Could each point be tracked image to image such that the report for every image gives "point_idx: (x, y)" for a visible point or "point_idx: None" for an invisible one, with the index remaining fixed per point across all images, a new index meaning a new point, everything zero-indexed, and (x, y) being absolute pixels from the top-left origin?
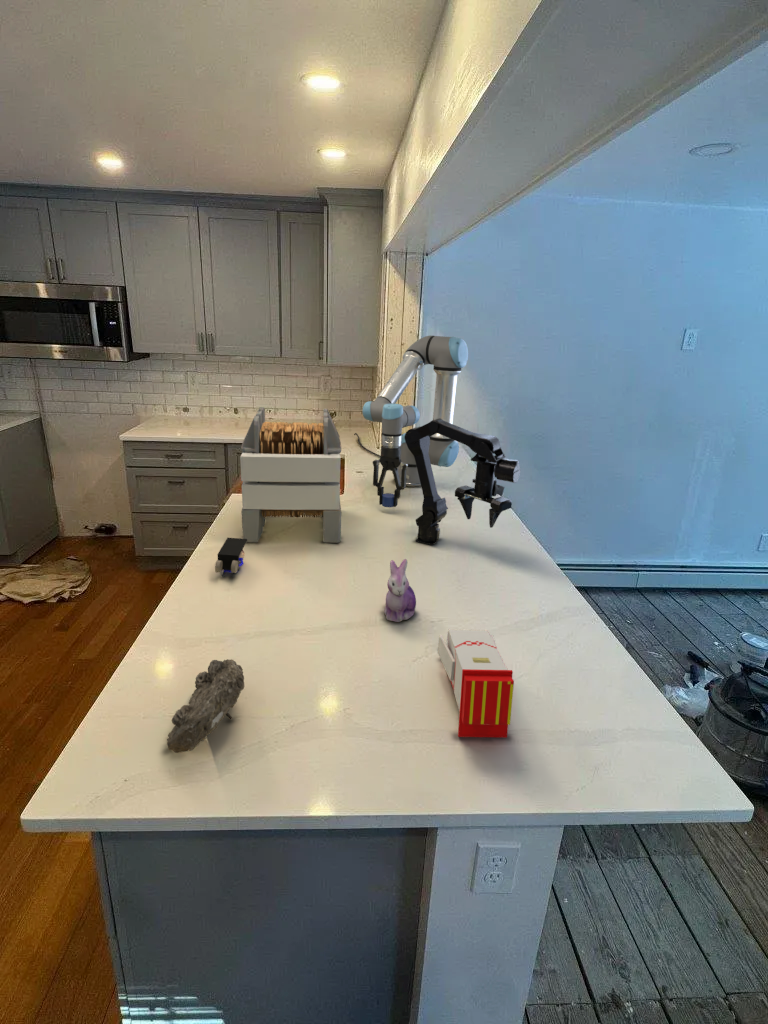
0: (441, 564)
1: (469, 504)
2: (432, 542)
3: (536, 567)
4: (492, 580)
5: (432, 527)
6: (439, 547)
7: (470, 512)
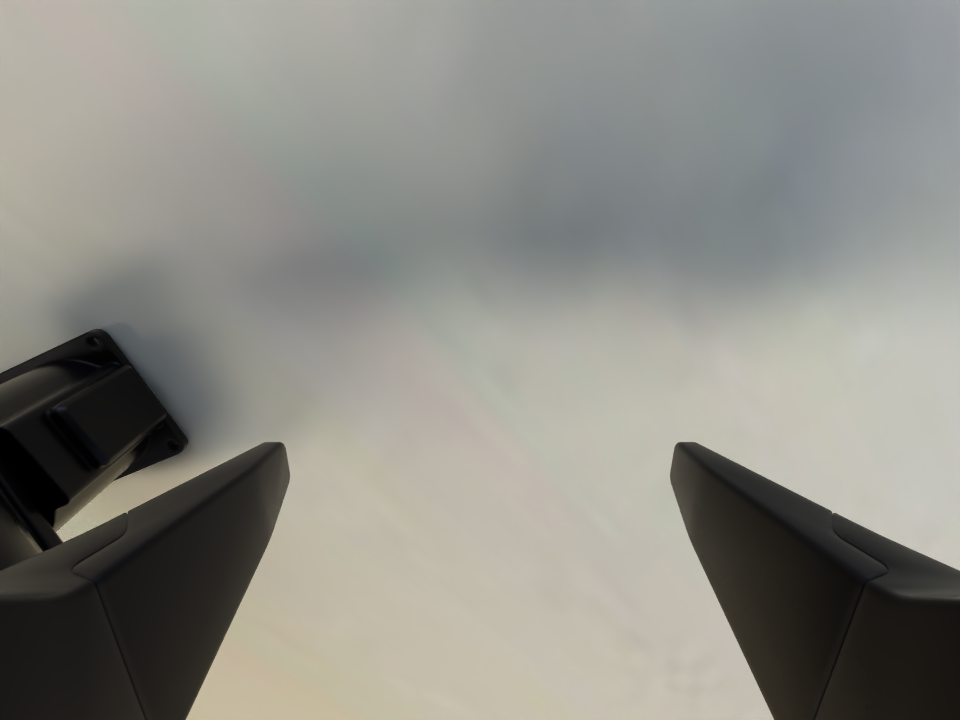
0: (446, 582)
1: (130, 663)
2: (160, 436)
3: (957, 124)
4: None
5: (61, 512)
6: (239, 430)
7: (237, 507)
